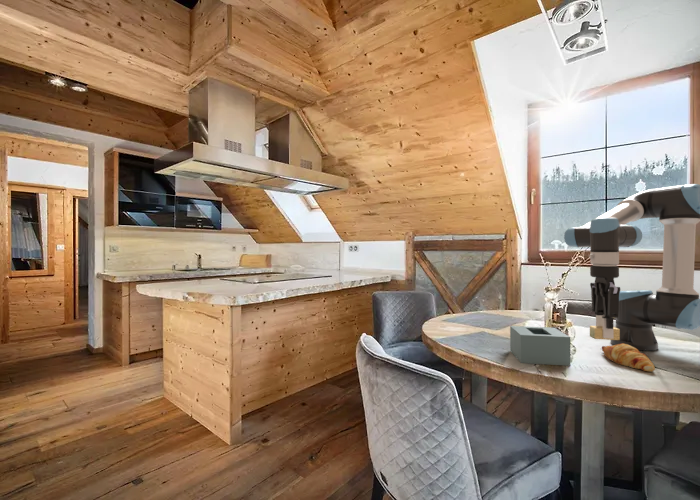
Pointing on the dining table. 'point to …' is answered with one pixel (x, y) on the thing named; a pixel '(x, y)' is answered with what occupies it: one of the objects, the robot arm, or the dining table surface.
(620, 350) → the croissant
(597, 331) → the pale yellow block
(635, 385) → the dining table surface
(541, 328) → the coin box
